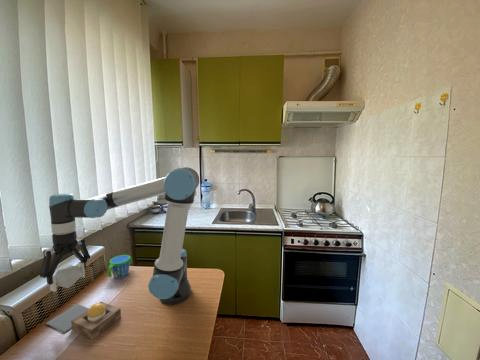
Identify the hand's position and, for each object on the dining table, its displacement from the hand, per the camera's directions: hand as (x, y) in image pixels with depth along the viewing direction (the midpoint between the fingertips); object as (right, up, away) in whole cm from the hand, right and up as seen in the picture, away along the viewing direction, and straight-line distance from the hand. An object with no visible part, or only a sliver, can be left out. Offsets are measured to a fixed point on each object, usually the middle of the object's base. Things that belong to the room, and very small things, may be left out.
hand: (68, 283), depth 87 cm
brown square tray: (+13, -16, -1) cm, 21 cm away
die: (0, -1, 0) cm, 1 cm away
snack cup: (+3, -12, +34) cm, 36 cm away
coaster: (0, -16, +2) cm, 16 cm away
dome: (+13, -15, -1) cm, 20 cm away
